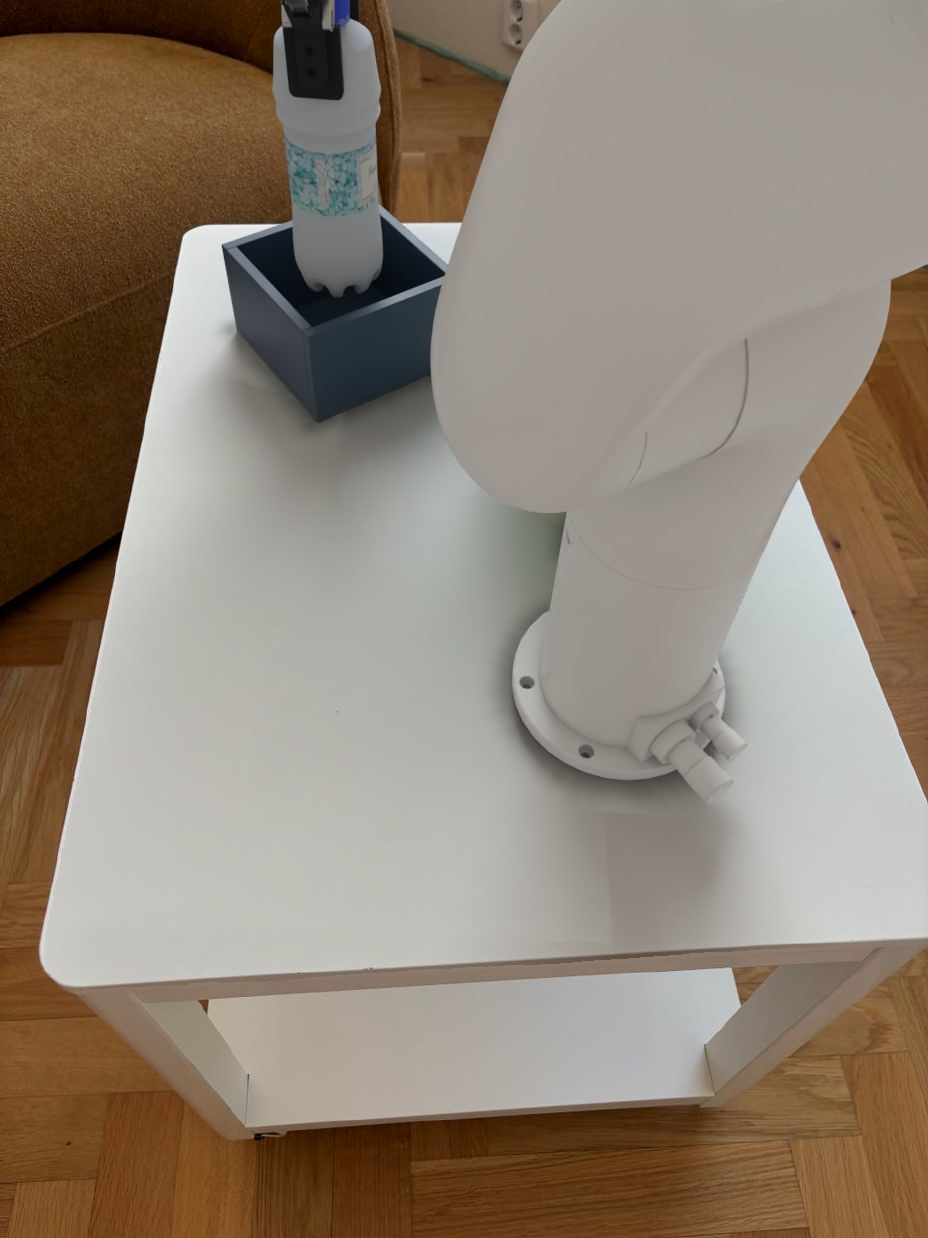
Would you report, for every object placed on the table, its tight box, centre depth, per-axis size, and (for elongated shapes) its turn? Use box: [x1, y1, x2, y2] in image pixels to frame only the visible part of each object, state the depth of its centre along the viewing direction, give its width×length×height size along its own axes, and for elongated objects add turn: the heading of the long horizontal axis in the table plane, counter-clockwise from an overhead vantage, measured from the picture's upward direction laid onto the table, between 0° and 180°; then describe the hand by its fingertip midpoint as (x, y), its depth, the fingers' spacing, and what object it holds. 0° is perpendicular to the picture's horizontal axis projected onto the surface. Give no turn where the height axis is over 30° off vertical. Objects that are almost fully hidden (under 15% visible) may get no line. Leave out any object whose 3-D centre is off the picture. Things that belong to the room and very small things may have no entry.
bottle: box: [271, 0, 383, 298], centre depth 65 cm, size 7×7×20 cm
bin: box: [221, 202, 449, 423], centre depth 75 cm, size 13×13×8 cm
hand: (326, 66), depth 61 cm, fingers closed on bottle, 6 cm apart
